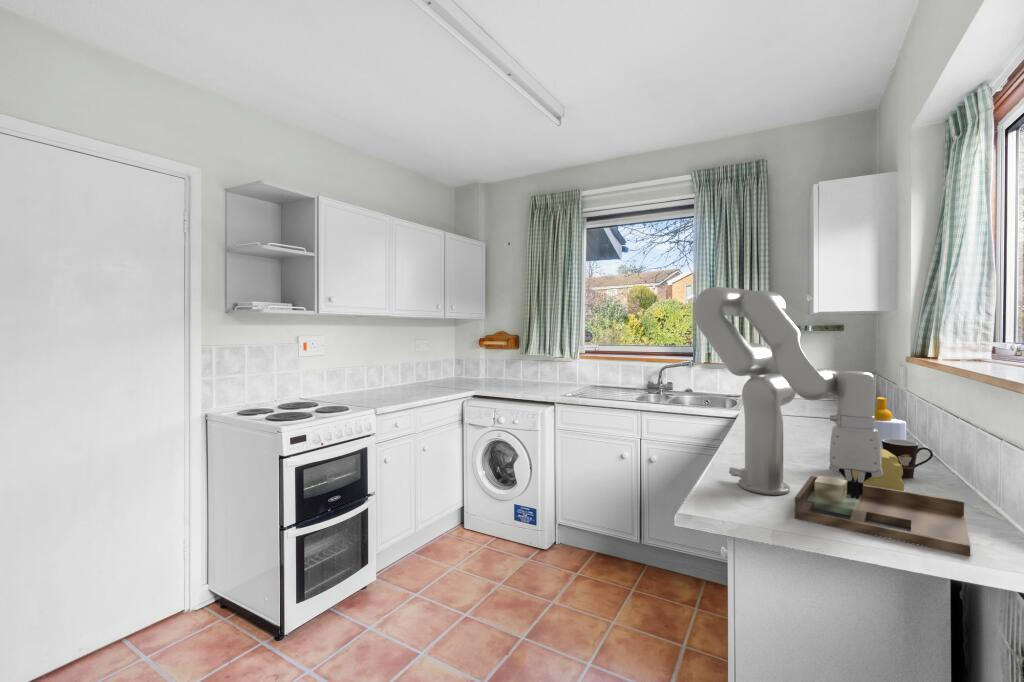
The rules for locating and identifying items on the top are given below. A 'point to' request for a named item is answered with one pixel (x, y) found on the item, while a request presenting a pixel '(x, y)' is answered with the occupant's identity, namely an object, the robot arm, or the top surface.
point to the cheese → (886, 473)
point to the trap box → (890, 516)
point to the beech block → (830, 489)
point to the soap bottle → (888, 423)
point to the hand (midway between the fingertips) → (855, 496)
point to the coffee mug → (905, 454)
